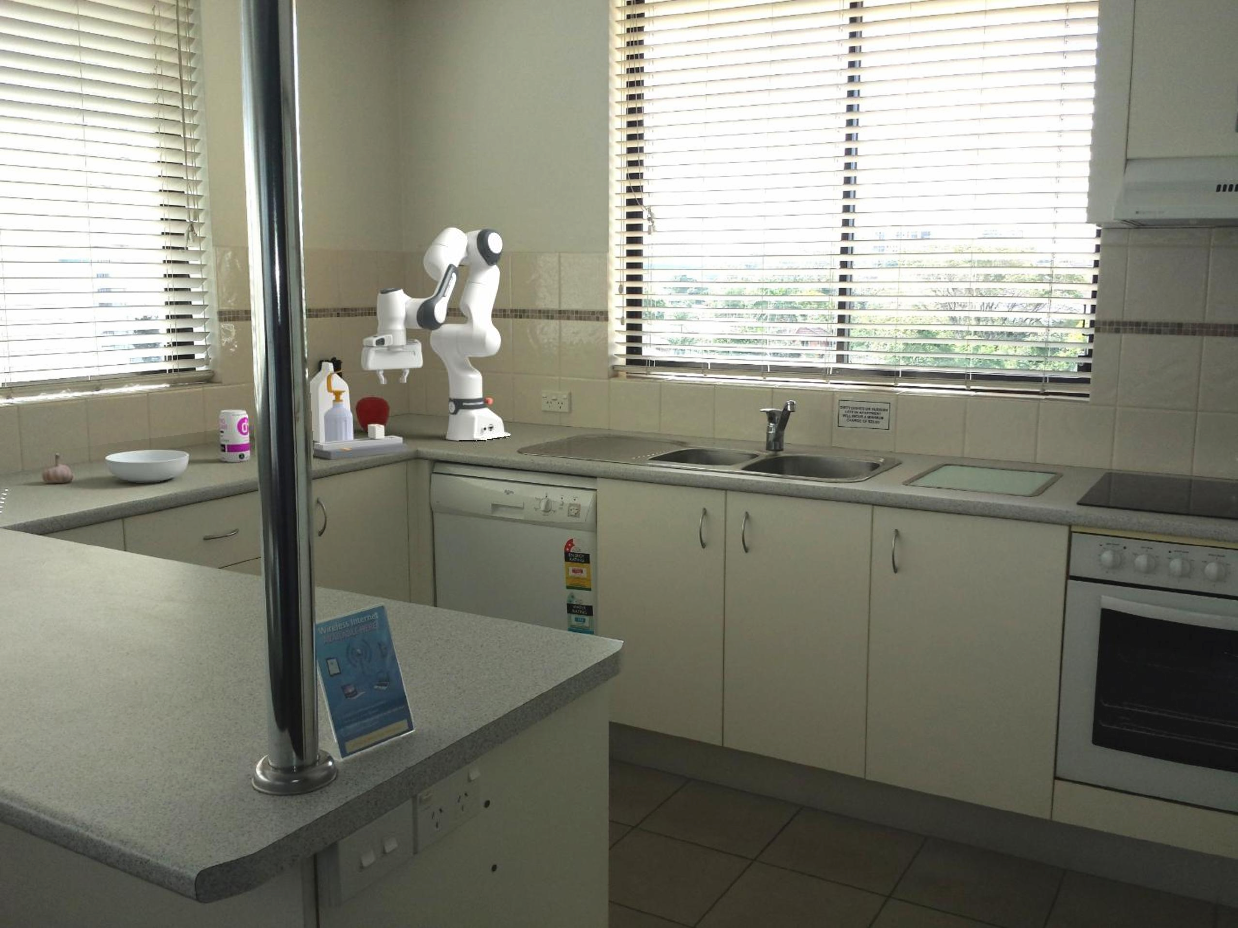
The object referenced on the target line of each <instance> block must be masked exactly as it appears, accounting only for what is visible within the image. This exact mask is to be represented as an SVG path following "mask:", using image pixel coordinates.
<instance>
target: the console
mask: <svg viewBox="0 0 1238 928" xmlns="http://www.w3.org/2000/svg"><path fill="white" fill-rule="evenodd" d="M403 441H404V440H403V437H401V436H397V435H388V436H385V435H384V438H382V439H376V440H371V438H369V437H363V438H353V439H352V440H341V441H331V442H314V443H313V445H312V446H313V450H314V455H313V456H315V457H319V458H323V459H328V460H339V459H340V460H341V459H343V460H344V459H351V458H359V457H371V456H380V455H388V454H389V455H390V454H399V453H407V452H408V444H407V443H403Z"/></svg>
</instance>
